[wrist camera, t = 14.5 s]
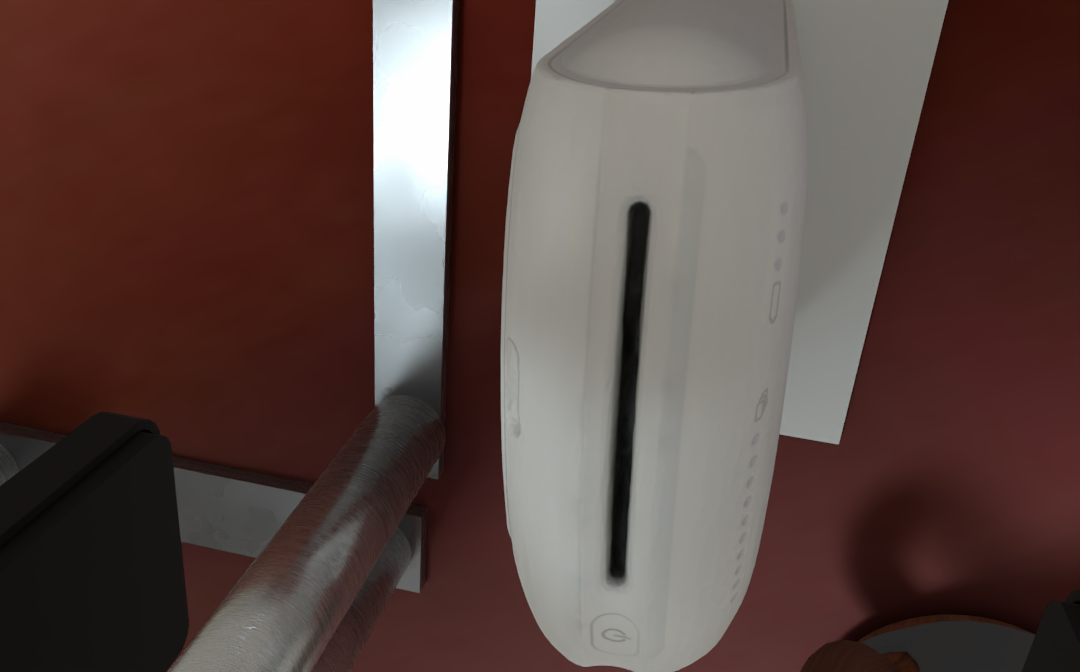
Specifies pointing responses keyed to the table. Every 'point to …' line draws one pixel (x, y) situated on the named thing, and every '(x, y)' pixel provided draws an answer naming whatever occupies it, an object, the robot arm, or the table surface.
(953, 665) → the mug
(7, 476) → the gate
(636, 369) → the photo printer
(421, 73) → the gate
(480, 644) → the table surface
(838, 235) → the mat
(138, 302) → the table surface
